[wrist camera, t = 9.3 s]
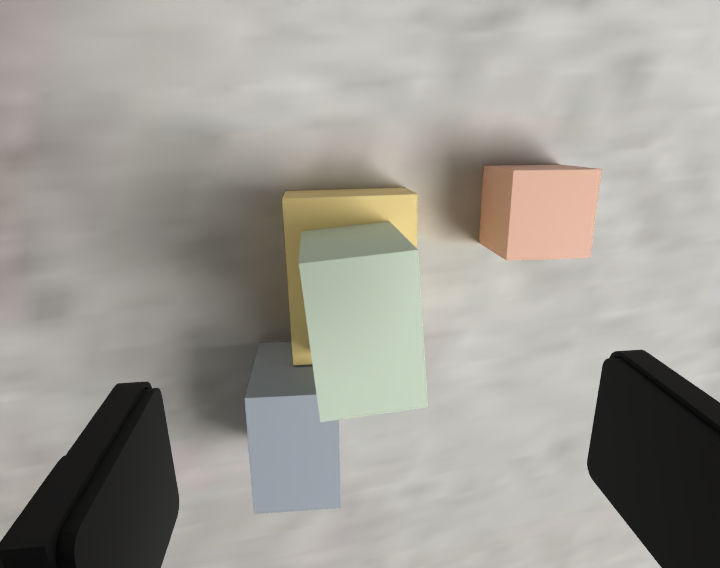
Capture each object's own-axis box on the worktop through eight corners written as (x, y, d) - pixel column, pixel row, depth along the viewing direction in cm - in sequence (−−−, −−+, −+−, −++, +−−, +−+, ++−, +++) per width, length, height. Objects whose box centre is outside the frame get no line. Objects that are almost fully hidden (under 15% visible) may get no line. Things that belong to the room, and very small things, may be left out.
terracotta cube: (483, 165, 25) (513, 170, 21) (558, 164, 25) (601, 169, 22) (478, 242, 26) (506, 260, 22) (550, 240, 27) (590, 257, 23)
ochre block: (286, 190, 25) (281, 198, 21) (403, 186, 25) (417, 194, 22) (295, 337, 27) (293, 365, 24) (403, 331, 28) (415, 357, 24)
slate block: (259, 342, 27) (244, 398, 21) (332, 339, 27) (338, 393, 21) (265, 437, 28) (253, 513, 23) (335, 434, 29) (340, 507, 23)
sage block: (301, 231, 22) (298, 263, 16) (389, 221, 22) (418, 249, 16) (317, 353, 24) (320, 422, 18) (399, 343, 24) (427, 407, 18)
